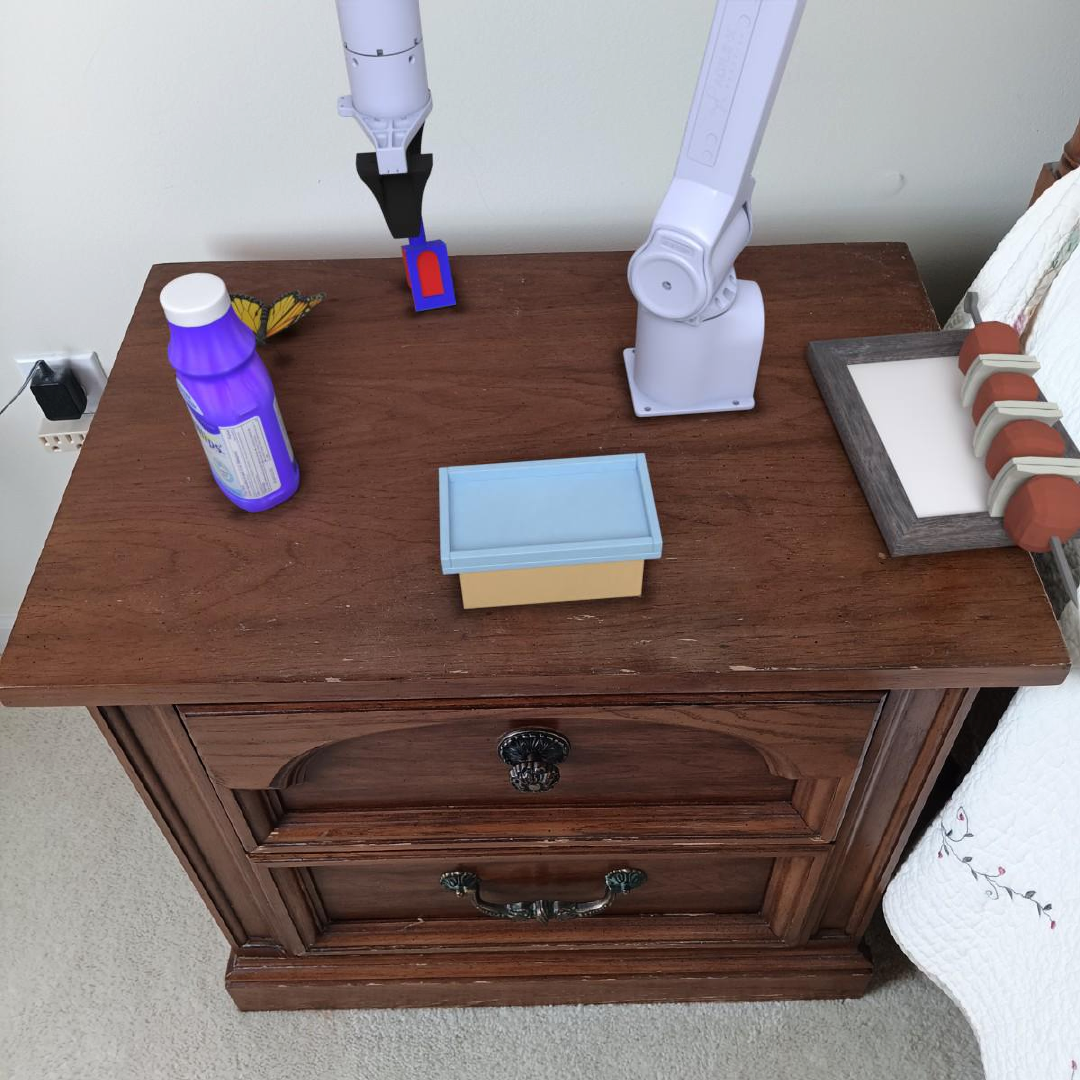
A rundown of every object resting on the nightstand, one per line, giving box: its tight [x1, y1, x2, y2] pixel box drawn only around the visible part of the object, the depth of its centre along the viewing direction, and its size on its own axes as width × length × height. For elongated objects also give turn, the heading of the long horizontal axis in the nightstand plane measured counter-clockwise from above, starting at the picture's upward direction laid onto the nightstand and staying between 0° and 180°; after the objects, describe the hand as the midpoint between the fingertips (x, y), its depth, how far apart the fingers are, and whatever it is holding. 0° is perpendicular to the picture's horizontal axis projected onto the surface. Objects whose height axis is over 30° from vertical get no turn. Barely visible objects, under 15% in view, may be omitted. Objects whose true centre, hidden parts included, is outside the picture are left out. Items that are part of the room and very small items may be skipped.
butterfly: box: [228, 289, 327, 375], centre depth 84 cm, size 12×9×5 cm
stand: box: [438, 452, 663, 610], centre depth 68 cm, size 14×8×6 cm, turn 94°
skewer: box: [958, 291, 1080, 610], centre depth 71 cm, size 5×5×30 cm
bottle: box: [159, 272, 301, 513], centre depth 69 cm, size 7×6×17 cm
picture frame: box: [805, 327, 1080, 558], centre depth 76 cm, size 16×2×21 cm
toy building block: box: [400, 216, 457, 312], centre depth 88 cm, size 4×4×8 cm
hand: (406, 208), depth 82 cm, fingers open, 7 cm apart
